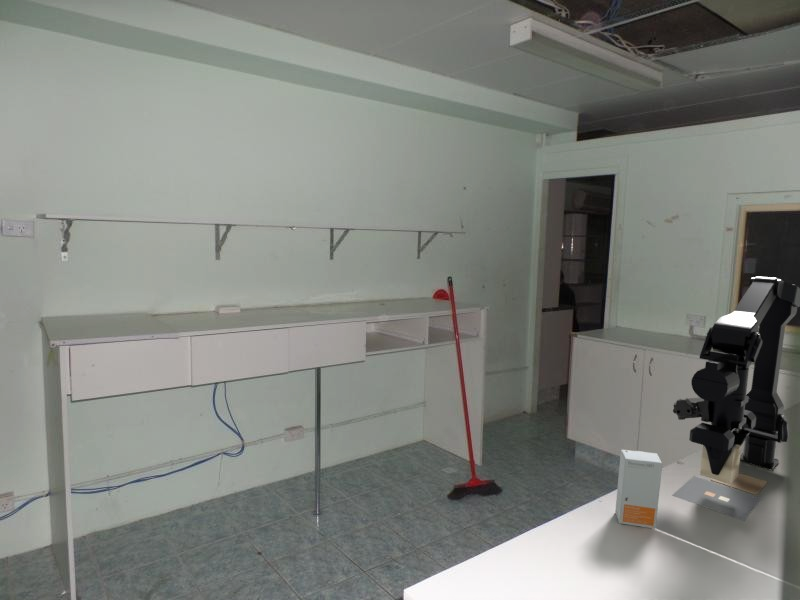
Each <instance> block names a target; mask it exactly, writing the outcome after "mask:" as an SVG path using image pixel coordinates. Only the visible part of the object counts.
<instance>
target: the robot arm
mask: <svg viewBox="0 0 800 600" xmlns="http://www.w3.org/2000/svg"><path fill="white" fill-rule="evenodd" d="M798 308H800V287H799V286H798V285H796V284H793V283H789V282H786V281H784V280H783V279H782V278H781V279H780V278H778V277H770V276H769V277H768V276H755V277H754V276H753V277H751V278H750V280H749V283H748V288H747V290H746V291H745V293H744V294H743V295H742V297H741V299H740V301H739V302H738V303H737V305H736V306H735V308H734V310H733V311H732V312H731V313H729V314H726V315H722V316H720V317H719V318H718V319H717V320H716V322H715V323H713V325H711V326H710V327H709V329H708V331H707V334H706V336H705V340H704V342H703V344H702V345H703V346H702V349H701V351H700V355H699V359H700V360H705V361H706V362H705V367H703V368H701V369H698V370H697V371H696V372H695V373H694V374H693V376H692V377H691V380H690V381H691V382H690V383H691V388H692V390H693V392H694V393H695V395H697V397H692V398H689V397H686V398H683V399H682V398H679V399H677V400H676V402H674V403H673V410H672V413H673V414H674V415H675V414H676V415H677V419H678V420H679V421H682V420H686V419H699V418H700V421H701V423H699V424H697V425H696V426H694V427H693V428H691V429H690V431H689V441H690V442H691V443H694V444H699V445H702V446H703V445H704V446H705V448H706V451H707V454H708V459H709V463H710V468H711V472H712V474H715V475H719V473H720V472H721V470H722V469H723V467H724V465H725V464H726V462H727V460H728V458H729V457H730V455H731V453H732V452H733V450H734V448H735V447H736V445H740V446H741V447H742V445H743V452H742V453H741V454H740V462H743V463H746V464H749V465H751V466H752V465H753V466H756V467H760V468H763V469H767V470H770V469H771V470H770V471H773V469H775V467H776V465H778V464H779V462H780V459H778V458H775V456H776V448H777V443H779V444H782V443H788V441H789V433H790V431H789V423H788V421H787V417H786V415H785V414H784V410H785V409H784V408H785V405H784V403H783V401H782V399H781V397H780V396H779V393H778V383H779V378H780V377H779V375H780V368H781V361H782V353H783V344H784V338H785V331H786V326H787V324H788V323H790V321H791V320H792V319H793V318H794V317H796V314H797V312H798ZM752 363H754V366H753V373H752V382H751V389H750V391H749V392H748V393H747V390H748V382H749V381H748V380H749V373H750V372H749V371H750V366H751V365H752Z"/></svg>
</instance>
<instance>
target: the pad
mask: <svg viewBox="0 0 800 600" xmlns="http://www.w3.org/2000/svg"><path fill="white" fill-rule="evenodd" d="M710 481H711V482H714V483H717V484H720V485H723V486H727V487H730V488H733V489H736V490H739V491H742V492H745V493H748V494H751V495H754V496H758V495H759V494H760V492H761V491H762V490H763V488H764V487H765V486H766V485H767V483H768V480H763V479H760V478H757V477H754V476H750V475H746V474H743V473H740V472H738V477H737V478H736V479H735V480H734V481H733V482H732V483H731V484H727V483H724V482H721V481H718V480H715V479H712V478H710Z"/></svg>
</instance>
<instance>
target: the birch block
mask: <svg viewBox="0 0 800 600" xmlns="http://www.w3.org/2000/svg"><path fill="white" fill-rule="evenodd" d="M741 452H742V445H741V446H740V445H736V447H735V448H734V450H733V452H732V453H731V455H730V457H729V458H728V460H727V462H726V464H725V465H724V467H723V469H722V470H721V472H720V473H719V475H715V474H712V472H711V468H710V463H709V459H708V454H707V451H706V448H705V446H704V445H702V451H701V462H700V473H699V475H700V476H702V477H704V478H709V479H715V480H718V481H721V482H724V483H727V484H731V483H732V482H733V481H734V480H735V479H736V478H737V477H738V473H740V472H739V471H740V470H739V469H740V462H741V461H740V455H741V454H742V453H741Z"/></svg>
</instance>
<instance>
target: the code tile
mask: <svg viewBox="0 0 800 600" xmlns="http://www.w3.org/2000/svg"><path fill="white" fill-rule="evenodd" d="M671 496H673V497H676V498H678V499H681V500H684V501H686V502H690V503H692V504H695V505H698V506H702V507H704V508H707V509H710V510H712V511H715V512H718V513H719V514H720V513H721V514H724V515H725V516H726V515H727V516H728V517H731V518H734V519H738V520H740V521H743V522H745V521H746V520H747V518H749V516H750V514H751V513H752V512H753V511H754V509H755V508H756V507H757V506H758V504H759V503H760V502H761V500H763V497H760V496H758V495H754V494H751V493H748V492H745V491H742V490H739V489H736V488H733V487H729V486H726V485H723V484H720V483H717V482H714V481H711V480H708V479H704V478H701V477H698V476H696V475H693V476H691V478H690V479H688V481H686V482H685V483H684V484H682V486H681V487H679V488H678V489H677V490H676V491H675V492H673V494H671Z"/></svg>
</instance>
